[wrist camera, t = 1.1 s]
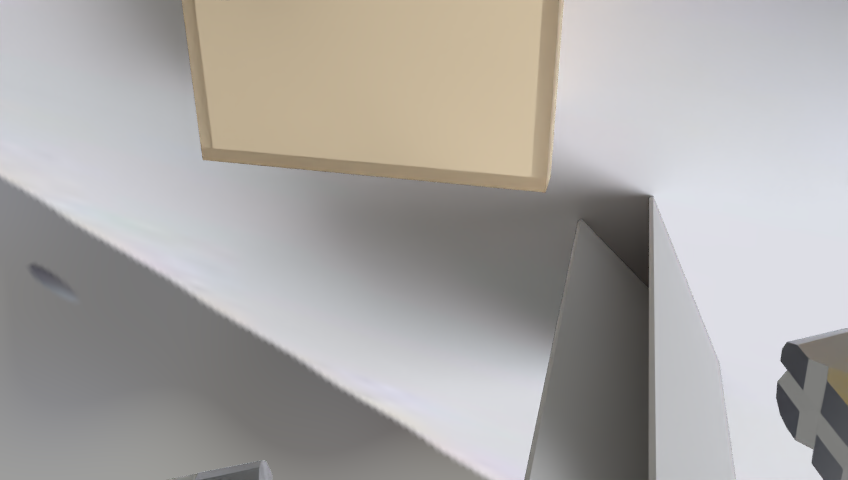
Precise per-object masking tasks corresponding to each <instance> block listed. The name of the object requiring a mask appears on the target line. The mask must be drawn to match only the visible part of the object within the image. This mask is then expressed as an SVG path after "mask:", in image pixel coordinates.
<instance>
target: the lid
mask: <svg viewBox="0 0 848 480" xmlns="http://www.w3.org/2000/svg"><path fill="white" fill-rule="evenodd" d="M563 4H564V0H182V7H183V15H184V22H185V30H186V37H187V45H188V52H189V60H190V67H191V75H192V83H193V90H194V98H195V105H196V113H197V120H198V128H199V135H200V143H201V150H202V158H203V160H209V161H219V162H230V163H240V164H251V165H261V166H272V167H282V168H293V169H303V170H314V171H324V172H335V173H345V174H356V175H366V176H377V177H387V178H398V179H409V180H419V181H430V182H440V183H451V184H461V185H472V186H482V187H493V188H503V189H514V190H524V191H535V192H546V189H547V186H548V183H549V180H550V177H551V164H552V151H553V138H554V124H555V111H556V97H557V84H558V71H559V57H560V44H561V30H562V17H563Z"/></svg>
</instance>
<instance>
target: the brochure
mask: <svg viewBox="0 0 848 480" xmlns="http://www.w3.org/2000/svg"><path fill="white" fill-rule="evenodd" d="M524 480H736V475H735V468H734V461H733V454H732V447H731V440H730V433H729V426H728V419H727V412H726V405H725V398H724V391H723V384H722V377H721V370H720V363H719V360H718V357H717V355H716V352H715V350H714V347H713V345H712V342H711V340H710V337H709V335H708V332H707V330H706V327H705V325H704V322H703V320H702V317H701V315H700V312H699V310H698V307H697V305H696V302H695V300H694V297H693V295H692V292H691V290H690V287H689V285H688V282H687V279H686V277H685V274H684V272H683V269H682V267H681V264H680V262H679V259H678V257H677V254H676V252H675V249H674V247H673V244H672V242H671V239H670V237H669V234H668V232H667V229H666V227H665V224H664V222H663V219H662V217H661V214H660V212H659V209H658V207H657V204H656V202H655V199H654V197H653V196H652V197H649V288H648V287H647V286H646V285H645V284H644V283H643V282H642V281H641V280H640V279H639V278H638V277H637V276H636V275H635V274H634V273H633V272H632V271H631V270H630V269H629V268H628V267H627V266H626V264H625V263H624V262H623V261H622V260H621V259H620V258H619V257H618V256H617V255H616V254H615V253H614V252H613V251H612V250H611V249H610V248H609V247H608V246H607V245H606V244H605V243H604V242H603V241H602V240H601V239H600V238H599V236H598V235H597V234H596V233H595V232H594V231H593V230H592V229H591V228H590V227H589V226H588V225H587V224H586V223H585V222H584V221H583V220H582V219H581V220H579V221H578V224H577V229H576V233H575V238H574V243H573V248H572V253H571V257H570V262H569V267H568V272H567V277H566V282H565V286H564V291H563V296H562V301H561V306H560V310H559V315H558V320H557V325H556V330H555V335H554V339H553V344H552V349H551V354H550V359H549V363H548V368H547V373H546V378H545V383H544V388H543V392H542V397H541V402H540V407H539V412H538V417H537V421H536V426H535V431H534V436H533V441H532V445H531V450H530V455H529V460H528V465H527V470H526V474H525V479H524Z"/></svg>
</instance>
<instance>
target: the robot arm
mask: <svg viewBox="0 0 848 480" xmlns="http://www.w3.org/2000/svg"><path fill="white" fill-rule="evenodd" d="M780 361H781V362H782V364H783V365H784V366H785V367H786V369H787V371H786V372H785V374H784V375H783V376H782V377H781V378H780V379H779V380H778V382H777V393H776V399H777V403H778V407H779V412H780V415H781V417H782V419H783V421H784V423H785V425H786V427H787V429H788V430H789V432H790V433H791V435H792V436H793V438H794V439H795V440H796V441H798V442H800V443H802V444H804V445H806V446H808V447H810V448H812V449H813V455H812V464H813V466H814V467H815V469H816V470H817V471H818V473H819V474H820V476H821V477H822V478H823V480H848V328H844V329H840V330H836V331H832V332H827V333H823V334H819V335H815V336H810V337H806V338H802V339H798V340H793V341H789V342H787V343H786V344H785V346H784V347H783V348H782V354H781V360H780ZM168 480H272V473H271V471H270V468H269V466H268V464H267V462H266V461H263V460H261V461H256V462H251V463H247V464H241V465H236V466H231V467H226V468H220V469H216V470H210V471H205V472H200V473H197V474H192V475H188V476H182V477H178V478H173V479H168Z"/></svg>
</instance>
